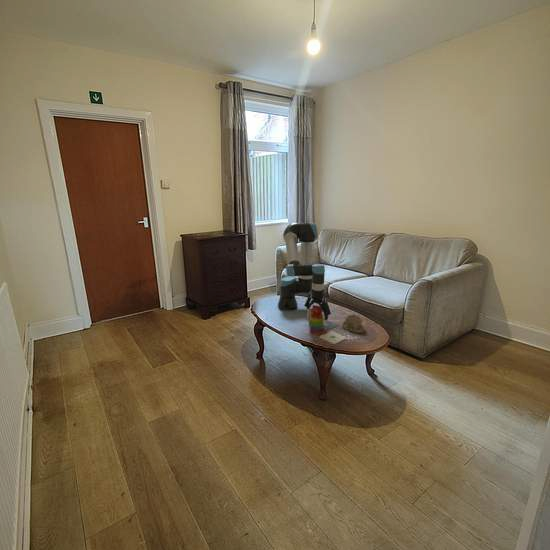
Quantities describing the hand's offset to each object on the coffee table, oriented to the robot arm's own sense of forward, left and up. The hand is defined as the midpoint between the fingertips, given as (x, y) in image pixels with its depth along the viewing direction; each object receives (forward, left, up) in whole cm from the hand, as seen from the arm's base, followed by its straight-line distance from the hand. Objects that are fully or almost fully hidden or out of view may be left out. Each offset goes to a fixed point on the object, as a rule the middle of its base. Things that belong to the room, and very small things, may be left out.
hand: (316, 321), depth 198 cm
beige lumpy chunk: (+12, +22, -8) cm, 27 cm away
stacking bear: (0, 0, -8) cm, 8 cm away
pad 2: (+12, +2, -8) cm, 14 cm away
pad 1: (-3, +13, -8) cm, 15 cm away
